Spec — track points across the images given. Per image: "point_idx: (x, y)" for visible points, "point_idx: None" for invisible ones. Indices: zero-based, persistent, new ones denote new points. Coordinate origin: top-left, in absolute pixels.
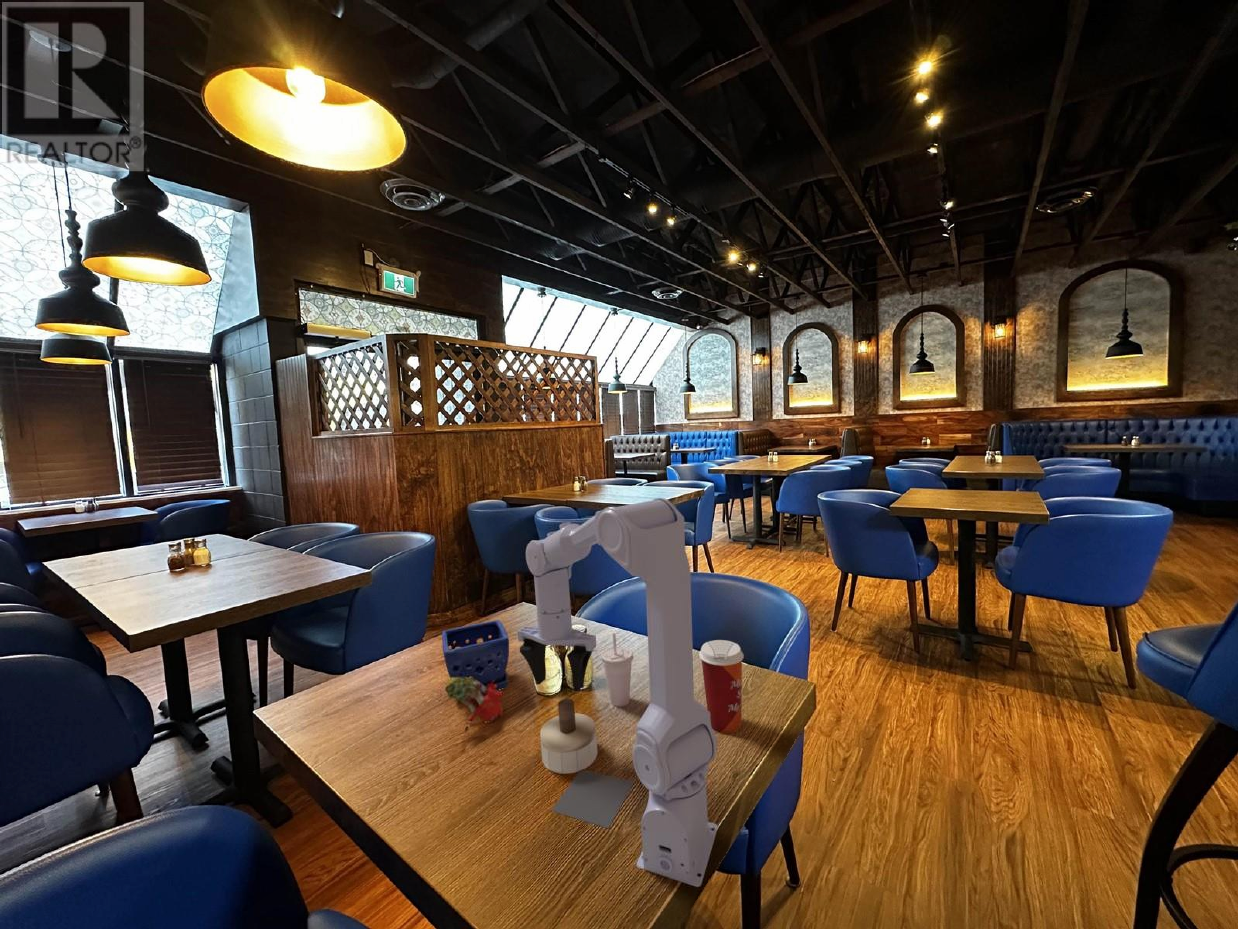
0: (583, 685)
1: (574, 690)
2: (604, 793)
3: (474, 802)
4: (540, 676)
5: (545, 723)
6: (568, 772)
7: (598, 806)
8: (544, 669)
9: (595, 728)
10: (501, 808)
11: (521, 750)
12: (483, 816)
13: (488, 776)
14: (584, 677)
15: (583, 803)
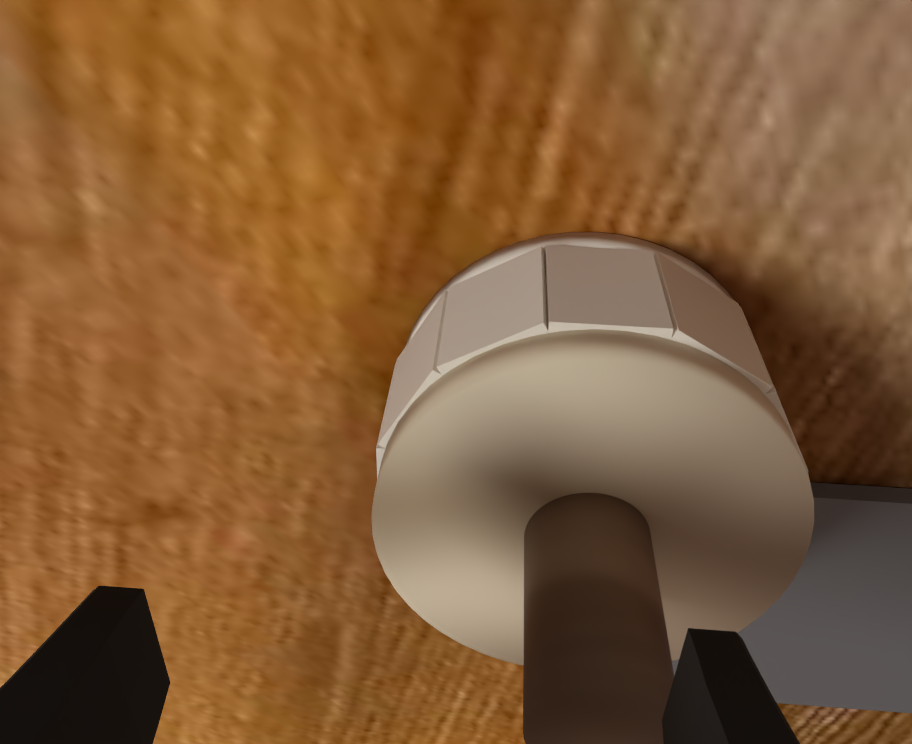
0: (743, 641)
1: (664, 729)
2: (878, 596)
3: (287, 680)
4: (127, 734)
5: (374, 521)
6: None
7: (861, 651)
8: (76, 706)
9: (782, 410)
10: (417, 683)
11: (232, 402)
12: (375, 715)
13: (221, 577)
14: (787, 724)
15: (782, 648)
